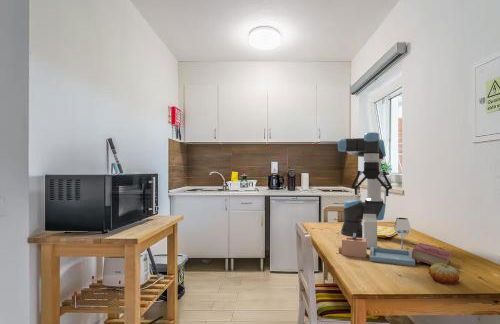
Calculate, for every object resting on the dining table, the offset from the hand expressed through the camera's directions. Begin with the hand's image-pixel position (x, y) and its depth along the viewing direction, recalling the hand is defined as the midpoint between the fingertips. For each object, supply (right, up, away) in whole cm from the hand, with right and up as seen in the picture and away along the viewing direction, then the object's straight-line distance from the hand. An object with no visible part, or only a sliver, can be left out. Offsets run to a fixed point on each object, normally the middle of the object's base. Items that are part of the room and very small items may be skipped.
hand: (371, 201), depth 170 cm
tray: (+8, -28, -6) cm, 30 cm away
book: (+24, -27, -13) cm, 38 cm away
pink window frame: (-9, -28, 0) cm, 29 cm away
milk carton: (+5, -28, +16) cm, 33 cm away
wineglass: (+20, -28, +7) cm, 35 cm away
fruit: (+16, -28, -38) cm, 50 cm away
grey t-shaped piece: (-9, -28, 0) cm, 29 cm away
